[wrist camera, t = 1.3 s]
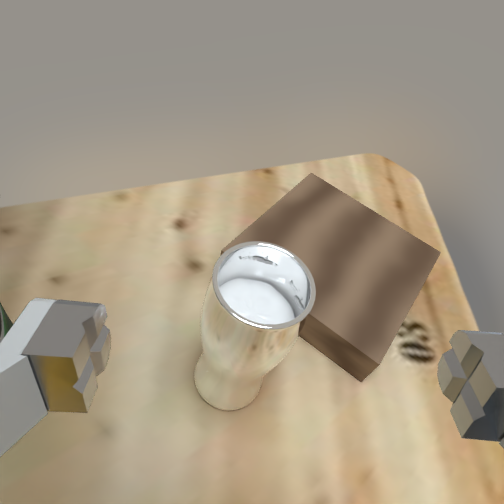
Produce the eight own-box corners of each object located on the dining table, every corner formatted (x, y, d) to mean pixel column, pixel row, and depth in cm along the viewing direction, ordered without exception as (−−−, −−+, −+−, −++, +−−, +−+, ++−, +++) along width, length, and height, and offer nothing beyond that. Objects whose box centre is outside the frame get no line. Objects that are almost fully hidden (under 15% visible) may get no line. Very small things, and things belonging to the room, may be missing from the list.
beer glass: (235, 328, 39) (271, 224, 28) (281, 386, 37) (341, 297, 25) (173, 366, 36) (186, 264, 24) (219, 433, 33) (257, 354, 22)
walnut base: (216, 273, 43) (221, 250, 40) (301, 195, 54) (311, 172, 51) (361, 381, 38) (379, 364, 35) (422, 273, 49) (440, 252, 46)
